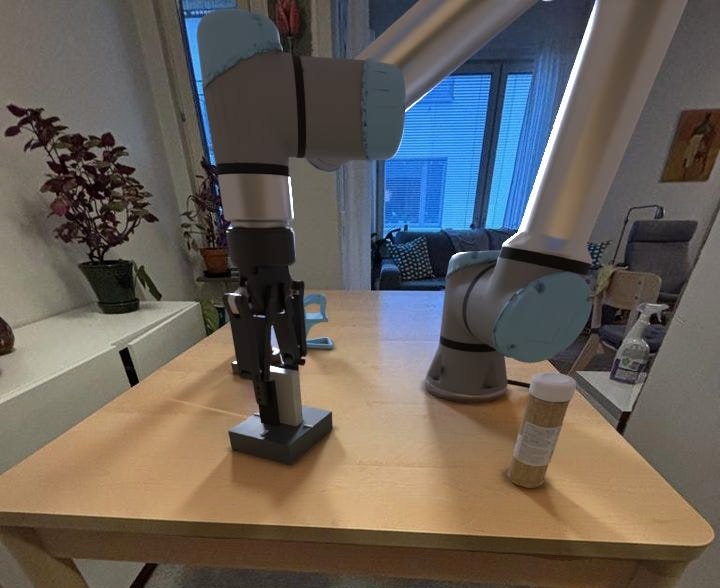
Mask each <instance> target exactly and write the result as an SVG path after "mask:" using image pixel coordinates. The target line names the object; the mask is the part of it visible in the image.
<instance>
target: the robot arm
mask: <svg viewBox="0 0 720 588" xmlns="http://www.w3.org/2000/svg"><path fill="white" fill-rule="evenodd" d="M542 1H544V2H551V1H553V0H542ZM688 1H689V0H595V1H594V5H593V8H592V11H591V14H590V17H589V19H588V22H587V26H586V29H585V32H584V34H583V38H582V41H581V42H580V43H581V44H580V46H579V49H578V52H577V55H576V58H575V61H574V65H573V67H572V70H571V73H570V76H569V79H568V83H567V85H566V88H565V92H564V95H563V98H562V101H561V104H560V107H559V110H558V113H557V115H556V119H555V122H554V124H553V129H552V131H551V134H550V137H549V140H548V143H547V146H546V148H545V152H544V155H543V157H542V161H541V164H540V167H539V170H538V173H537V175H536V179H535V182H534V185H533V189H532V191H531V194H530V196H529V200H528V202H527V205H526V209H525V211H524V216H523V218H522V221H521V224H520V227H519V229H518V231H517V233H515V234H514V235H513V236H511V237H510V238H508V239H507V240H506V241H504V242H503V243H502V245H501V249H498V250H480V251H479V250H478V251H465V252H458V253H456V254H454V255H452V256H451V258H450V260H449V262H448V266H447V272H446V275H445V287H444V296H443V306H442V316H441V324H440V331H439V332H440V333H439V342H438V346H437V348H436V352H435V354H434V356H433V359H432V360H431V363H430V364H429V367H428V370H427V371H426V374H425V378H424V379H425V381H424V387H425V388H424V389H425V390H426V391H427V392H428V393H430V394H431V395H433V396H435V397H436V398H439V399H442V400H446V401H450V402H456V403H461V404H486V403H491V402H496V401H498V400H500V399H503V397H505V396H506V393H507V389H508V385H509V386H515V387H520V388H526V389H529V388H530V384H531V383H528V382H523V381H519V380H514V379H508V375H507V374H508V373H507V365H506V358H507V359H508V358H509V359H513V360H516V361H517V362H521V363H525V364H535V363H540V362H545V361H547V360H550V359H552V358H554V357H555V356H556V355H557V354H559V353H562V352H565V350H566V349H567V348H569V347H570V346H571V345H572V344H573V343H574V342H575V341H576V339H578V337H579V336H580V334H581V333H582V331H583V330H584V328H585V326H586V325H587V324H588V322H589V319H590V315H591V312H592V308H593V299H592V298H591V294H592V291H591V288H590V286H589V284H588V283H587V281H586V278H587V277H588V273H589V271H590V270H591V267H592V264H593V259H592V256H591V254H590V251H589V248H588V242H589V239H590V237H591V234H592V232H593V230H594V228H595V225H596V223H597V220H598V218H599V215H600V214H601V211H602V208H603V206H604V204H605V201H606V199H607V196H608V194H609V191H610V189H611V187H612V184H613V182H614V180H615V177H616V176H617V175H616V174H617V173H618V170H619V168H620V165H621V162H622V161H623V158H624V156H625V153H626V151H627V148H628V146H629V143H630V141H631V139H632V136H633V134H634V131H635V129H636V126H637V123H638V121H639V119H640V117H641V115H642V112H643V109H644V107H645V104H646V102H647V101H648V98H649V95H650V92H651V90H652V88H653V85H654V83H655V81H656V78H657V76H658V74H659V71H660V69H661V66H662V63H663V62H664V59H665V56H666V54H667V52H668V49H669V47H670V45H671V42H672V40H673V37H674V35H675V34H676V33H675V32H676V30H677V28H678V25H679V23H680V21H681V18H682V17H683V13H684V11H685V8H686V6H687V3H688ZM538 2H539V0H418V1H417V2H416V3H415V4H413V5H412V7H410V8H409V9H408V10H407V11H405V12H404V13H403V14H402V15H401V16H400V17H399V18H398V19H396V20H395V21H394V23H392V24H391V25H390V26H389V27H388V28H387V29H386V30H384V31H383V32H382V33H381V34H380V35H379V36H378V37H377V38H376V39H375V40H373V41H372V42H371V43H370V44H369V45H368V46H367V47H365V48H364V49H363V50H362V51H360V53H359V54H358V55H356V56H355V57H354V58H337V57H324V56H323V57H320V56H307V55H297V54H295V55H294V54H292V53H290V52H284V51H283V45H282V44H281V38H280V33H279V32H280V31H279V29H278V27H277V25H276V23H274V21H273V20H272V19H270V18H269V17H267V16H265V15H263V14H261V13H257V12H256V13H255V12H250V11H249V10H248V9H243V8H219V9H215V10H211V11H209V12H208V13H206V14H204V15H203V16H202V17H201V18H200V20H199V22H198V24H197V27H196V28H197V29H196V42H197V50H198V59H199V67H200V74H201V88H202V92H203V94H202V95H203V99H204V105H205V111H206V116H207V123H208V129H209V135H210V139H211V140H210V141H211V146H212V147H211V148H212V152H213V156H214V157H213V158H214V164H215V166H216V167H215V170H216V174H217V181H218V186H219V191H220V198H221V205H222V212H223V218H224V220H225V221H226V222H230V227H227V229H226V231H225V235H226V239H227V242H226V243H227V248H228V253H229V260H230V262H231V264H232V265H234V266H235V267H236V268H237V269H238V282H237V289H236V290H235V291H234V292H233V293H227V292H226V293H224V294H223V295H222V299H221V300H222V303H223V305H224V309H225V310H226V313H227V315H228V318H229V323H230V330H231V336H232V342H233V348H234V354H235V361H237V367H238V373H239V374H238V377H239V379H241V380H246V381H251V382H252V385H253V392H254V398H255V402H256V404H257V406H258V412H259V413H260V419H261V423H263V424H267V425H271V426H275V427H278V426H279V425H280V419H279V410H278V402H277V394H276V386H275V379H270V359H271V344H272V328H273V333H274V335H275V338H276V339H275V340H276V344H277V346H278V349H279V350H280V355H281V358H282V361H283V362H284V363H285V365H284V364H281V365H279V368H284V369H289V370H295V371H299V372H300V367H299V366H301V367H303V366H305V365H306V359H305V358H306V357H307V355H308V348H307V342H306V340H307V338H306V329H305V315H304V308H305V307H304V302H303V299H304V298H305V288H306V284H305V281H304V280H298V279H293V278H292V274H291V272H290V268H289V266H293V265H294V264H295V263H296V261H297V253H296V252H297V251H296V236H295V231H294V230H293V227H290V224H289V223H290V222H293V220H294V207H293V196H292V185H291V177H290V176H291V174H290V166H289V164H290V162H289V161H290V158H297V159H304V160H305V161H306V162H307V163H308V164H309V165H310V166H311V167H313V168H314V169H316V170H319V171H321V172H327V173H332V172H336V171H337V170H339V169H340V168H341V167H342V166H344V165H346V164H348V163H350V162H352V161H366V162H367V163H373V161H388V160H391V159H394V157H395V156H396V155H397V153H398V151H399V150H400V146H401V144H402V140H403V136H404V131H405V123H406V113H407V111H408V110H409V109H410V108H412V107H413V106H414V105H416V103H418V102H419V101H420V100H422V99H423V98H424V97H425V96H426V95H427V94H428V93H430V92H431V91H432V90H433V89H434V88H436V87H437V86H438V85H439V84H441V82H444V80H445V79H446V78H448V77H449V76H450V75H451V74H452V73H454V72H455V71H456V70H457V69H459V68H460V67H461V66H462V65H464V64H465V63H466V62H467V61H468V60H469V59H470V58H471V57H473V56H474V55H476V53H478V52H479V51H480V50H481V49H482V48H484V47H485V46H486V45H487V44H489V42H491V41H492V40H493V39H494V38H495V37H497V36H498V35H499V34H500V33H501V32H503V31H504V30H505V29H506V28H507V27H509V26H510V25H511V24H512V23H513V22H515V21H516V20H518V18H520V17H521V16H522V15H523V14H524V13H525V12H527V11H528V10H529V9H530V8H531V7H533V6H534V5H535V4H536V3H538ZM256 315H258V316H256ZM299 346H300V347H299ZM260 370H261V371H260Z"/></svg>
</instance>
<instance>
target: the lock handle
mask: <svg viewBox="0 0 720 588" xmlns="http://www.w3.org/2000/svg"><path fill="white" fill-rule="evenodd" d="M260 371H261V370H260ZM270 379H275V386H276V394H277V402H278V410H279V419H280V423H284V424H288V425H292V426H298V425H299V424H301V423H302V422H303V414H302V405H303V403H302V392H301V380H300V370H299V371H295V370H289V369H284V368H278V367H272V366H270Z"/></svg>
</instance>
